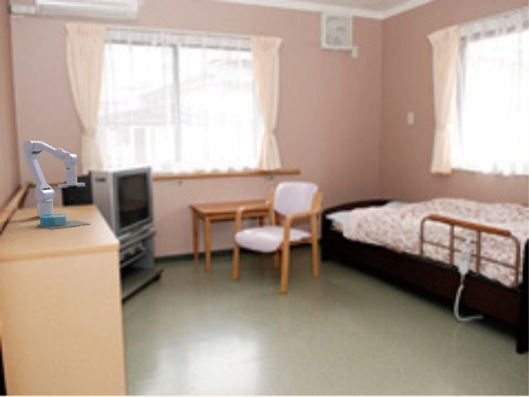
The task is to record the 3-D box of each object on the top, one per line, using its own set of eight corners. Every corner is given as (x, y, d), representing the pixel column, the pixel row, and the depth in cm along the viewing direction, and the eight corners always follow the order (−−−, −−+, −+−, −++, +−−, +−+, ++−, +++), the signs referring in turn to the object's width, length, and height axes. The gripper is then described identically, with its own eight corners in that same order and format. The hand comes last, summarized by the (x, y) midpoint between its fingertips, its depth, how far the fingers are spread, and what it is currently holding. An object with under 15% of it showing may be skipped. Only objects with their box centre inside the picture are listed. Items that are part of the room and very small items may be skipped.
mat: (37, 225, 238) (37, 224, 238) (75, 220, 253) (75, 220, 253) (52, 229, 228) (52, 228, 228) (90, 224, 243) (90, 223, 243)
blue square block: (66, 213, 248) (65, 216, 237) (66, 221, 248) (66, 225, 237) (41, 214, 243) (39, 217, 232) (41, 222, 244) (40, 226, 233)
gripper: (62, 176, 252) (63, 201, 254) (87, 175, 263) (88, 199, 265) (56, 176, 257) (57, 200, 259) (81, 174, 268) (82, 198, 270)
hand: (72, 199), depth 262 cm, fingers closed
